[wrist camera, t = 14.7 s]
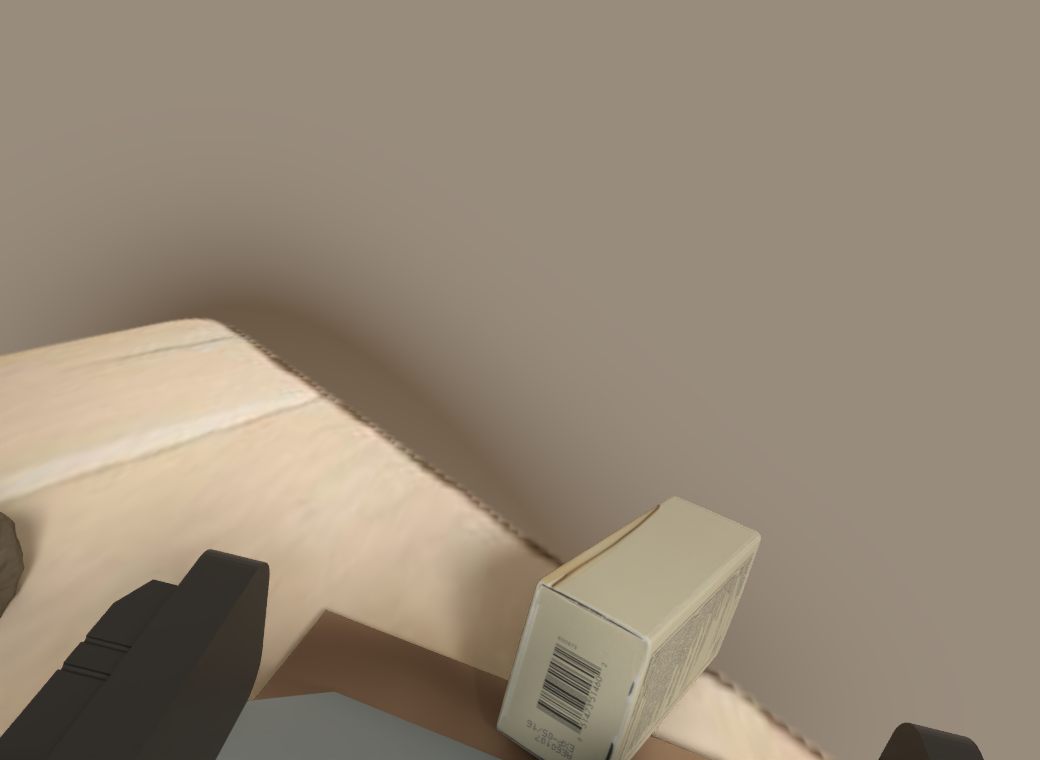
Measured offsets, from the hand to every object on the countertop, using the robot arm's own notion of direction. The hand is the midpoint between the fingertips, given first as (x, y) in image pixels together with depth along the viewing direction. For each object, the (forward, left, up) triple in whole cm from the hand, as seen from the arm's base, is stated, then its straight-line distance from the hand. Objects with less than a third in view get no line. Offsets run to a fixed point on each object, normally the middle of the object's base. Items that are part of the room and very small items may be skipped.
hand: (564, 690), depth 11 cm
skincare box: (0, +13, -12) cm, 18 cm away
